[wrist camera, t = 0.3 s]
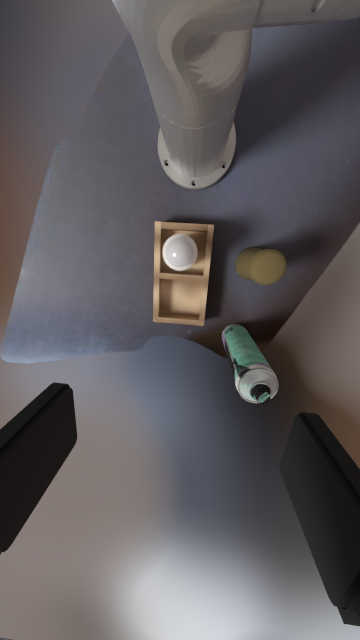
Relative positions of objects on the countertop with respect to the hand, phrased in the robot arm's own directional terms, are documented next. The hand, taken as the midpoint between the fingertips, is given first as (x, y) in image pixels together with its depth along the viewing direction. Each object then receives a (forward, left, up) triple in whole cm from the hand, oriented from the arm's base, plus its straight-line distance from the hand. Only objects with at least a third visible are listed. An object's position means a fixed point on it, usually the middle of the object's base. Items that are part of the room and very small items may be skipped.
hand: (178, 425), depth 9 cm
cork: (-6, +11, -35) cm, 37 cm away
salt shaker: (-7, -2, -34) cm, 34 cm away
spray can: (+9, +10, -35) cm, 37 cm away
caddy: (-3, -2, -35) cm, 35 cm away
